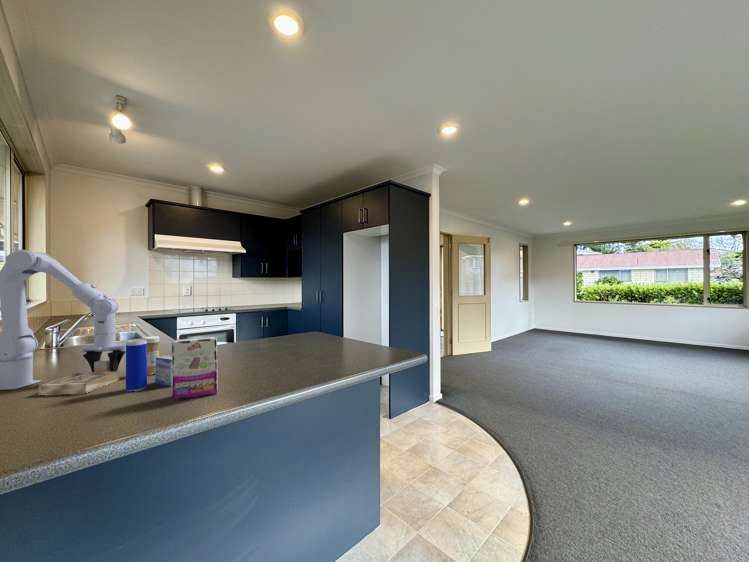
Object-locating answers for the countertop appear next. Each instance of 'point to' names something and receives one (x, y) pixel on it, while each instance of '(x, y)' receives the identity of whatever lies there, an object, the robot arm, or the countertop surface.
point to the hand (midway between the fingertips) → (104, 372)
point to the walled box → (77, 384)
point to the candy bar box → (194, 367)
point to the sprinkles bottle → (152, 353)
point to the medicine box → (164, 370)
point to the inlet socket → (81, 379)
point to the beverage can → (136, 365)
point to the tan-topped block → (102, 366)
